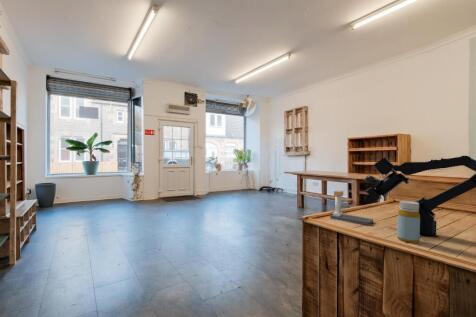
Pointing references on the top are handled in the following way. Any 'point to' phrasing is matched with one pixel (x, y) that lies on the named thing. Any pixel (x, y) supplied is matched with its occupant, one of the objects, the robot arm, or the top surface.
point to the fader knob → (338, 203)
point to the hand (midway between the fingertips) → (363, 203)
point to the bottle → (408, 222)
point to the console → (353, 219)
